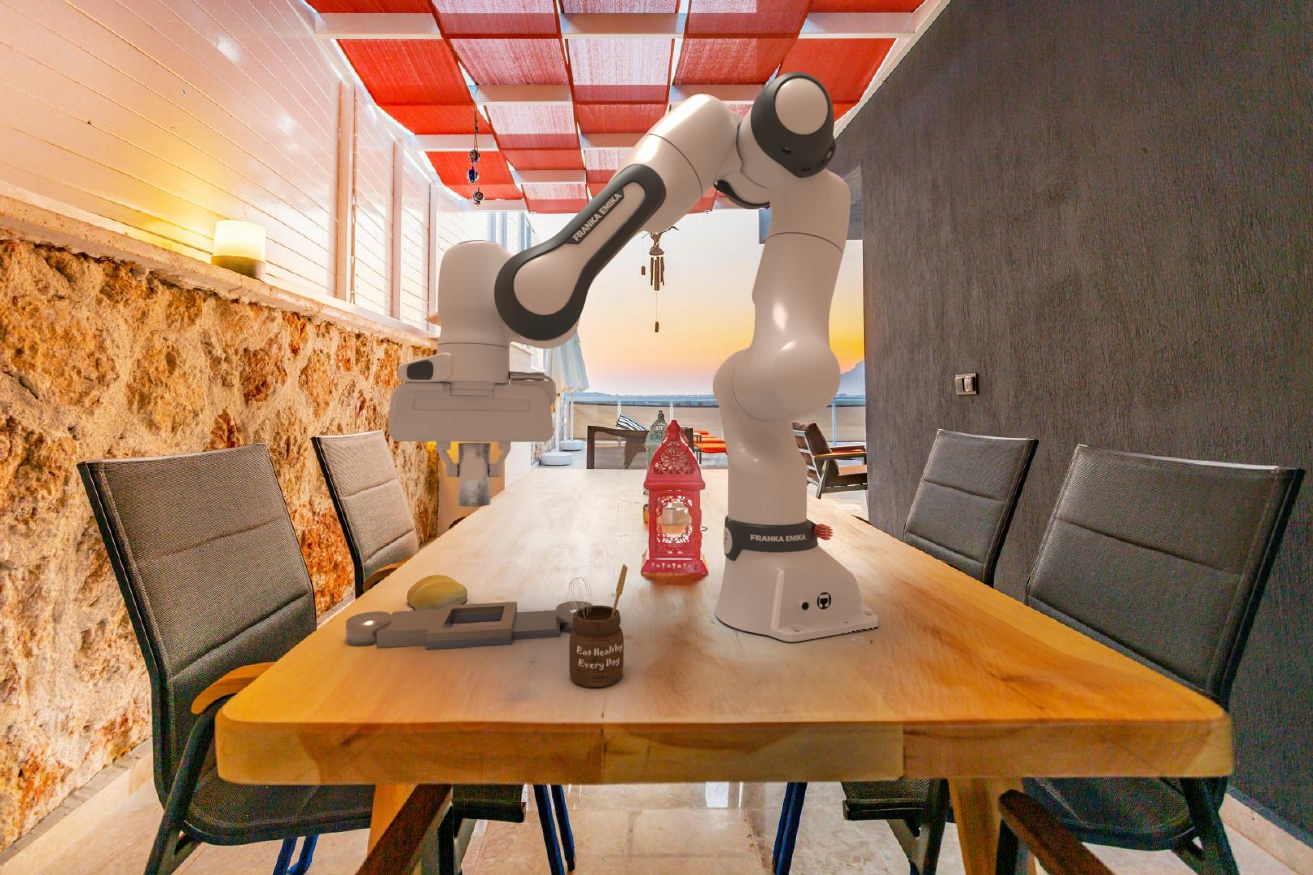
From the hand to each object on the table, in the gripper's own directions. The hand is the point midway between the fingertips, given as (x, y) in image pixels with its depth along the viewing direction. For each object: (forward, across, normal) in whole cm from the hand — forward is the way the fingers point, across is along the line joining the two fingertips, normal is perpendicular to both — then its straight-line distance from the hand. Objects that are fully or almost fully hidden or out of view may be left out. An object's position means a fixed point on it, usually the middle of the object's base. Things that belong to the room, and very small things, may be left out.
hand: (474, 476), depth 71 cm
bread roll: (+21, +7, -13) cm, 26 cm away
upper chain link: (+20, +5, 0) cm, 21 cm away
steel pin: (+4, 0, 0) cm, 4 cm away
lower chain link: (+20, -5, 0) cm, 21 cm away
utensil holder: (+21, -15, +15) cm, 30 cm away
